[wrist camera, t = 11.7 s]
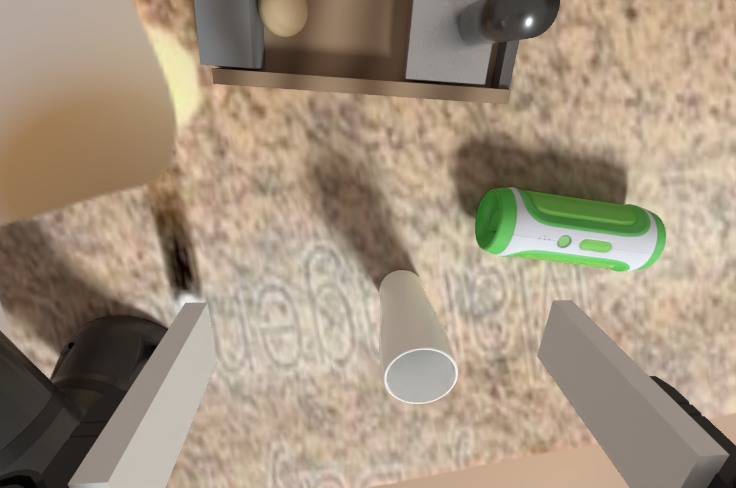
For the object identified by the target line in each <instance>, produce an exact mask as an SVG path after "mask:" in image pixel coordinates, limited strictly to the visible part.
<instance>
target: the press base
mask: <svg viewBox="0 0 736 488" xmlns="http://www.w3.org/2000/svg"><path fill="white" fill-rule="evenodd" d="M306 2H307V6H308V16H307V21H306V23H305V25H304V27H303V28H302V30H301V31H300V32H298V33H297V34H295V35H293V36H289V37H282V36H278V35H275V34H274V33H272V32H271V31H269V30H268V29H267V28H266V27H265V26H264V24H263V23H262V21H261V19H260V16H259V13H258V0H194V7H195V16H196V25H197V35H198V44H199V53H200V63H201V65H215V66H221V68H212V73H213V84H225V85H239V86H254V87H268V88H282V89H297V90H311V91H325V92H340V93H354V94H368V95H383V96H397V97H411V98H425V99H440V100H454V101H468V102H483V103H497V104H508V100H509V96H510V91H511V90H509V87H510V82H511V78H512V73H513V68H514V63H515V58H516V54H517V49H518V44H519V40H514V41H507V42H501V43H494V44H492V47H491V53H490V58H489V64H488V69H487V75H486V80H485V84H471V83H457V82H444V81H430V80H416V79H405V78H402V75H403V65H404V55H405V44H406V34H407V24H408V14H409V3H410V0H306Z"/></svg>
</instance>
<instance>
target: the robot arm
mask: <svg viewBox="0 0 736 488" xmlns="http://www.w3.org/2000/svg"><path fill="white" fill-rule="evenodd" d="M538 358H539V359H540V361H541V362H542V363H543V365H544V366H545V368H546V369H547V371H548V372H549V373H550V375H551V376H552V378H553V379H554V380H555V382H556V383H557V385H558V386H559V388H560V389H561V390H562V392H563V393H564V395H565V396H566V398H567V399H568V400H569V402H570V403H571V405H572V406H573V408H574V409H575V410H576V412H577V413H578V415H579V416H580V417H581V419H582V420H583V422H584V423H585V425H586V426H587V427H588V429H589V430H590V432H591V433H592V435H593V436H594V437H595V439H596V440H597V442H598V443H599V445H600V446H601V447H602V449H603V450H604V451H605V453H606V454H607V456H608V457H609V459H610V460H611V461H612V463H613V464H614V466H615V467H616V469H617V470H618V472H619V473H620V474H621V476H622V477H623V478H624V480H625V482H626V483H627V484H628V486H629V487H630V488H736V446H735V445H734V444H733V443H732V442H731V441H730V440H729V439H728V438H727V437H726V436H725V435H724V434H723V433H722V432H721V431H719V430H718V429H717V428H716V427H715V426H714V425H713V424H712V423H711V422H710V421H709V420H708V419H707V418H706V417H705V416H702V415H701V413H700V412H699V411H698V410H697V409H696V408H695V407H694V406H693V405H690V404H689V401H688V400H686V399H685V398H684V397H683V396H682V395H681V394H680V393H679V392H678V391H677V390H676V389H675V388H673V387H672V386H670V385H669V384H667V383H666V382H664V381H662V380H661V379H659V378H658V377H656V376H648V375H647V374H646V373H645V372H644V371H643V370H642V369H641V368H640V367H639V366H638V365H637V364H636V363H635V362H634V361H633V360H632V359H631V358H630V357H629V356H628V355H627V354H626V353H625V352H624V351H623V350H622V349H621V348H620V347H619V346H618V345H617V344H616V343H615V342H614V341H613V340H612V339H611V338H610V337H609V336H608V335H606V334H605V333H604V332H603V331H602V330H601V329H600V328H599V327H598V326H597V325H596V324H595V323H594V322H593V321H592V320H591V319H590V318H589V317H588V316H587V315H586V314H585V313H584V312H583V311H582V310H581V309H580V308H579V307H578V306H577V305H576V304H575V303H574V302H573V301H572V300H563V301H553V303H552V306H551V310H550V313H549V317H548V320H547V324H546V327H545V331H544V334H543V338H542V341H541V345H540V349H539V352H538ZM216 363H217V360H216V354H215V348H214V341H213V335H212V328H211V322H210V316H209V309H208V303H185V305H184V306H183V308H182V309H181V311H180V312H179V314H178V315H177V317H176V318H175V320H174V322H173V323H172V325H171V326H170V328H169V329H168V331H167V330H166V329H164V328H163V327H161V326H159V325H157V324H155V323H152V322H150V321H147V320H144V319H140V318H136V317H130V316H108V317H103V318H99V319H96V320H94V321H91V322H89V323H88V324H86V325H85V326H83V327H82V328H81V329H80V330H79V331H78V332H77V333H76V334H75V335H74V336H73V337H72V338H71V339H70V340H69V341H68V342H67V344H66V345H65V346H64V348H63V350H62V352H61V355H60V357H59V359H58V361H57V364H56V366H55V368H54V371H53V373H52V375H51V377H50V380H49V379H48V378H47V377H46V376H45V375H44V374H43V373H42V372H41V371H40V370H39V369H38V368H37V367H36V366H35V365H34V364H33V363H32V362H31V361H30V360H29V359H28V358H27V357H26V356H25V355H24V354H23V353H22V352H21V351H20V350H19V349H18V348H17V347H16V346H15V345H14V344H13V343H12V342H11V341H10V340H9V339H8V338H7V337H6V336H5V335H4V334H3V333H2V332H1V331H0V488H165V487H166V485H167V482H168V480H169V477H170V475H171V473H172V470H173V468H174V465H175V463H176V460H177V458H178V456H179V453H180V451H181V448H182V446H183V443H184V441H185V438H186V436H187V434H188V431H189V429H190V426H191V424H192V421H193V419H194V417H195V414H196V412H197V409H198V407H199V404H200V402H201V400H202V397H203V395H204V392H205V390H206V387H207V385H208V382H209V380H210V378H211V375H212V373H213V370H214V368H215V365H216Z"/></svg>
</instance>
